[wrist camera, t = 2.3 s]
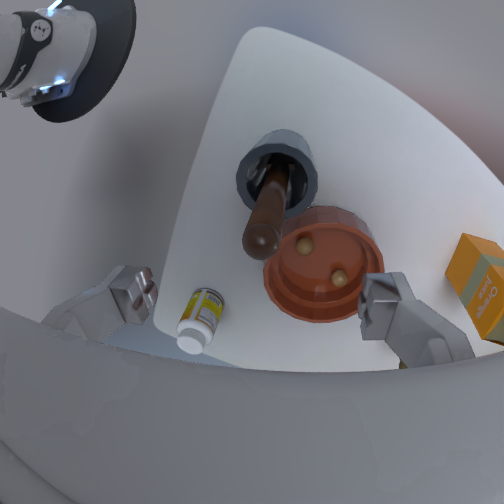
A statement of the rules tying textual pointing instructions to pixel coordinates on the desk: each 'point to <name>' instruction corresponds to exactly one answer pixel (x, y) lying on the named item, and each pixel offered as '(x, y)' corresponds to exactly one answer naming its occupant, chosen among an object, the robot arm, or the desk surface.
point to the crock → (300, 179)
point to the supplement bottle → (199, 321)
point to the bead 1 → (305, 246)
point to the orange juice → (480, 284)
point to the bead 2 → (339, 278)
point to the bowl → (321, 265)
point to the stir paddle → (269, 210)
